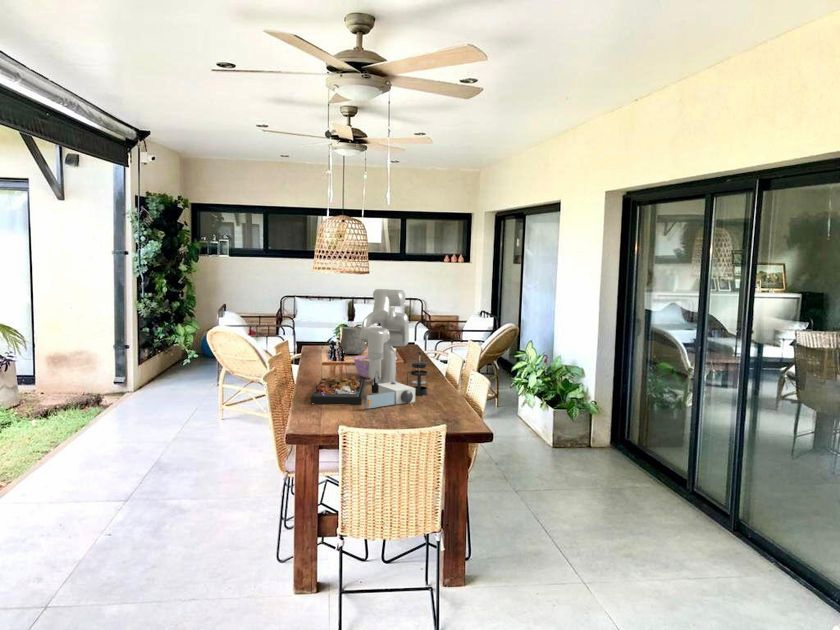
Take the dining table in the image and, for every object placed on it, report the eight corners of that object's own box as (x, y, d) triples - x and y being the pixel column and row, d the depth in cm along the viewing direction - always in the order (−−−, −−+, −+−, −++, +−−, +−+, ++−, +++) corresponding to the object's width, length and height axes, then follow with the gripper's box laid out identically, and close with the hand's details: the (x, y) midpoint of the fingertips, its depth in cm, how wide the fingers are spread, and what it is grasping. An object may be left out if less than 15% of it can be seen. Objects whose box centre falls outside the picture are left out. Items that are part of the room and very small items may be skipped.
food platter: (361, 406, 311) (361, 385, 310) (310, 405, 309) (311, 384, 308) (365, 387, 355) (365, 368, 354) (321, 386, 354) (321, 368, 353)
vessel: (331, 355, 456) (332, 328, 454) (344, 351, 477) (345, 325, 475) (359, 357, 450) (359, 329, 448) (371, 353, 470) (371, 326, 469)
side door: (368, 409, 300) (368, 396, 299) (366, 408, 301) (366, 395, 301) (397, 404, 311) (397, 392, 310) (395, 403, 312) (395, 391, 312)
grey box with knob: (375, 397, 327) (376, 382, 327) (395, 394, 335) (395, 380, 334) (397, 405, 311) (398, 389, 311) (417, 402, 319) (417, 387, 318)
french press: (428, 392, 343) (430, 350, 341) (428, 396, 334) (430, 353, 331) (407, 391, 343) (408, 349, 341) (406, 395, 334) (407, 352, 332)
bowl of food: (389, 374, 389) (389, 356, 388) (384, 381, 370) (384, 361, 368) (357, 373, 391) (357, 354, 390) (350, 379, 371) (350, 360, 370)
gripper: (366, 352, 312) (365, 389, 315) (369, 358, 298) (369, 396, 300) (381, 352, 314) (380, 388, 316) (385, 358, 299) (384, 396, 301)
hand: (374, 392), depth 308 cm, fingers closed
